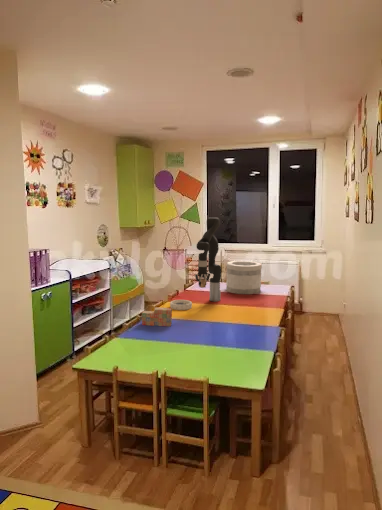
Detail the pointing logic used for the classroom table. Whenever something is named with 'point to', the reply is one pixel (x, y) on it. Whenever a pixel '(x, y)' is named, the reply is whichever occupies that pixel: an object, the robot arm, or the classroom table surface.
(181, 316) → the classroom table surface
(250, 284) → the storage basket
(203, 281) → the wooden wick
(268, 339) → the classroom table surface
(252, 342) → the classroom table surface
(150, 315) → the stack of blocks
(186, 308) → the grey ring
